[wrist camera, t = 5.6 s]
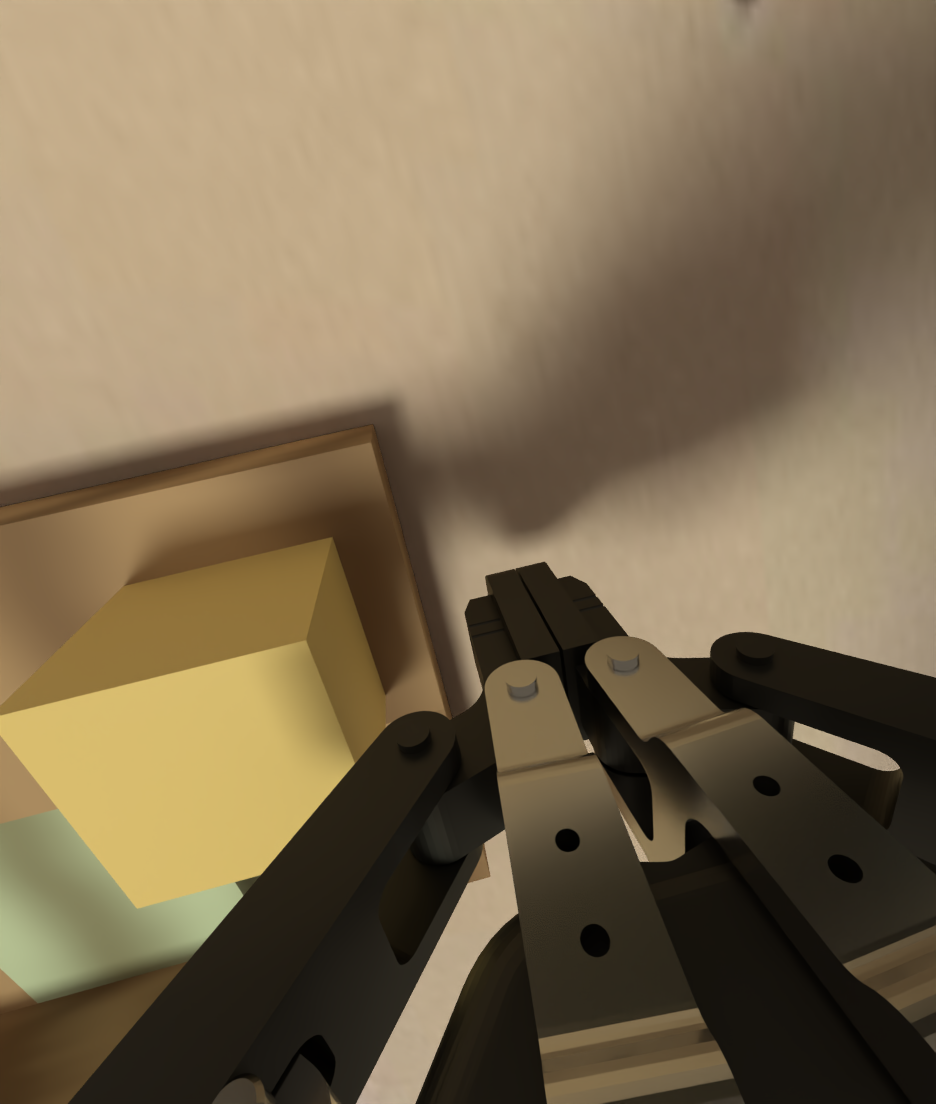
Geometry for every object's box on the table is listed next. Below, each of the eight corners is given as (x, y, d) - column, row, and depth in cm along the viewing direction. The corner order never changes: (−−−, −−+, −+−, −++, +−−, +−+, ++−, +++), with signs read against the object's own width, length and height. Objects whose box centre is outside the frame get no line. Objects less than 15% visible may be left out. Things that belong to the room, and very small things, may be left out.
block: (332, 536, 12) (305, 640, 8) (385, 695, 14) (385, 840, 10) (123, 586, 12) (-13, 718, 8) (209, 740, 14) (136, 909, 10)
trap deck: (373, 424, 14) (365, 484, 8) (482, 832, 21) (517, 1008, 15) (-547, 628, 12) (-1280, 862, 7) (-92, 990, 19) (-277, 1245, 14)
